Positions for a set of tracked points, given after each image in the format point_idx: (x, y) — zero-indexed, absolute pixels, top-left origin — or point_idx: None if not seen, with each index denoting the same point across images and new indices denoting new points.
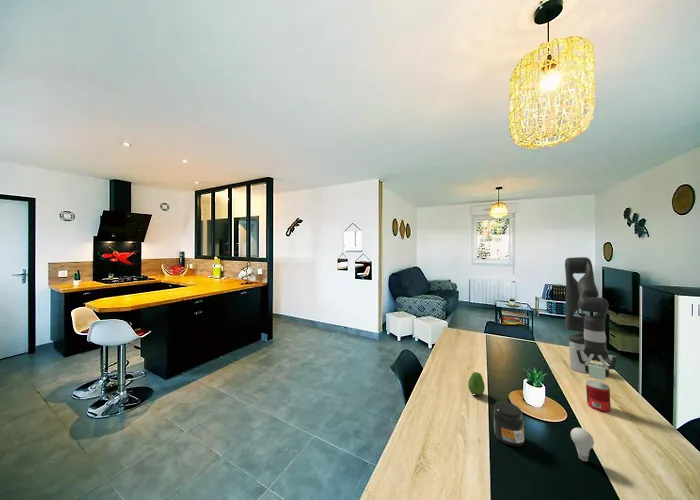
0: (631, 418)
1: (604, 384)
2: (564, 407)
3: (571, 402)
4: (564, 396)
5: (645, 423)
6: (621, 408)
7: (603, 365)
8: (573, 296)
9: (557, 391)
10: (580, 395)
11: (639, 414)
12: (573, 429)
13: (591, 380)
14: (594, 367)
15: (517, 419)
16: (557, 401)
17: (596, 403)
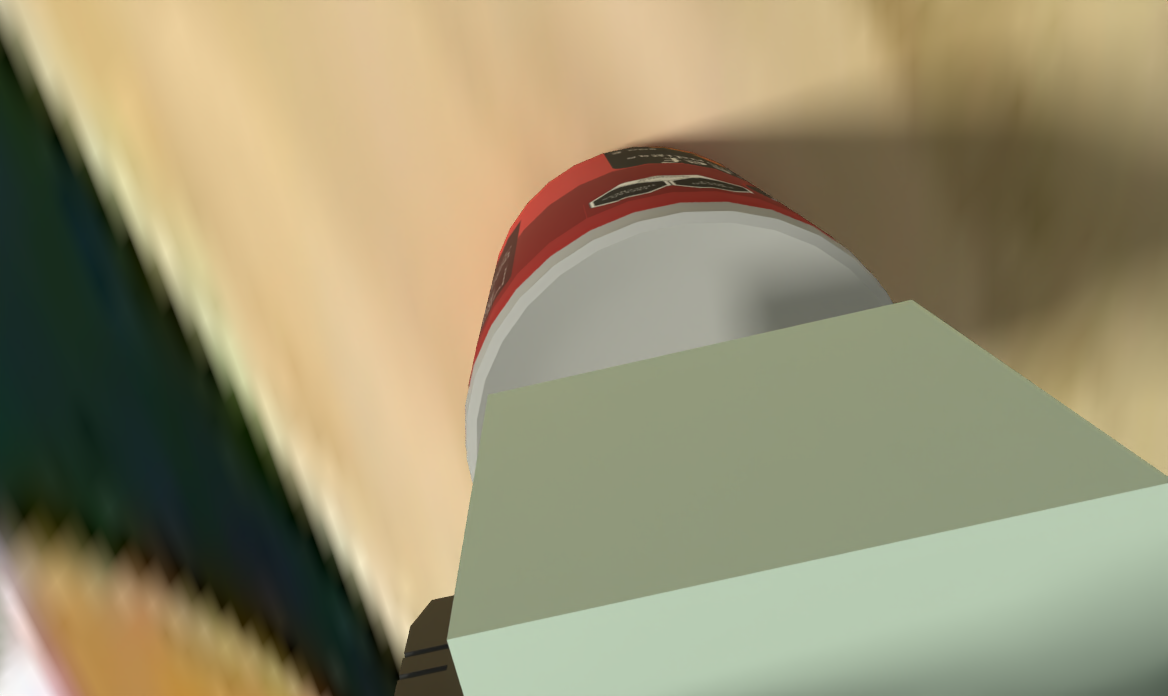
0: (1008, 269)
1: (817, 282)
2: (315, 672)
3: (324, 443)
4: (179, 315)
5: (1148, 274)
6: (892, 14)
7: (1148, 689)
8: None
9: (24, 207)
10: (331, 36)
11: (1103, 18)
12: None
13: (544, 294)
14: None
15: None
16: (185, 575)
17: None
